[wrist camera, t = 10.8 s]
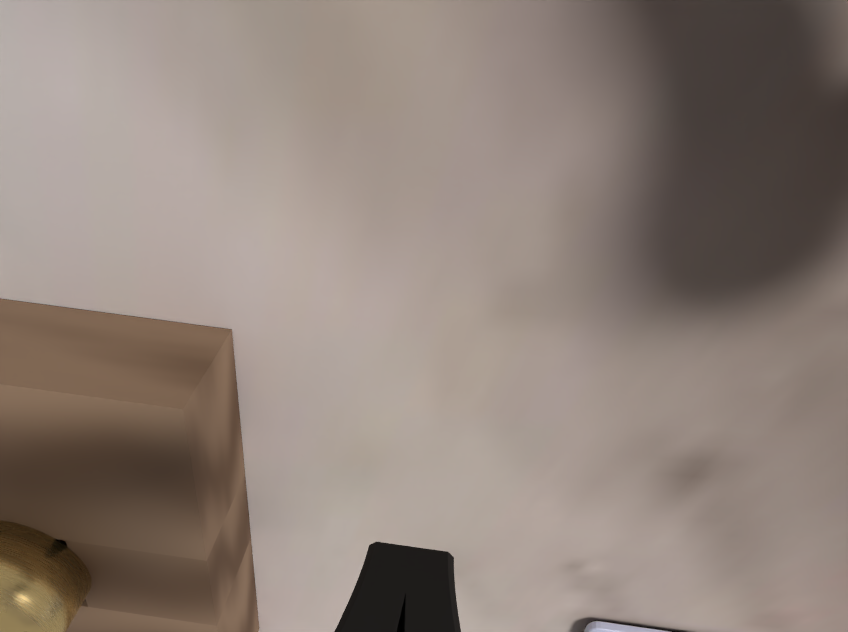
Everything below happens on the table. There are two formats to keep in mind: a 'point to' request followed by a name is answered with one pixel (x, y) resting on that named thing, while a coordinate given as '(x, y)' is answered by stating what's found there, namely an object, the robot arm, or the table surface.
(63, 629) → the brass peg
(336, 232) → the table surface
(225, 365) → the walnut block
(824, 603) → the table surface
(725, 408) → the table surface
